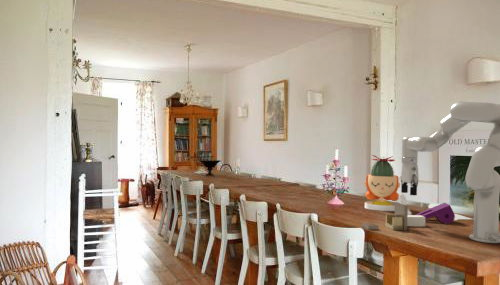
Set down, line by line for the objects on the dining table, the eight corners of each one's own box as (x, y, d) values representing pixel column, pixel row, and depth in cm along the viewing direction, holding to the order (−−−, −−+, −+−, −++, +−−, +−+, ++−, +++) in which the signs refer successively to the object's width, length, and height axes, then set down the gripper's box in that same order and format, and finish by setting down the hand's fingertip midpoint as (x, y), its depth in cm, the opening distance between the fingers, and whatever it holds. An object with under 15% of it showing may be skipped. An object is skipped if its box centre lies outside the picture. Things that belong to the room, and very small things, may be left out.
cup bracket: (407, 230, 189) (407, 205, 189) (393, 230, 189) (394, 205, 189) (397, 225, 200) (397, 202, 200) (384, 225, 200) (384, 202, 200)
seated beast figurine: (412, 215, 230) (412, 195, 230) (396, 214, 232) (396, 194, 233) (409, 213, 239) (410, 193, 239) (395, 212, 242) (395, 192, 242)
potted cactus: (400, 211, 243) (401, 155, 243) (363, 209, 250) (364, 154, 250) (398, 206, 263) (399, 155, 264) (364, 204, 270) (364, 154, 270)
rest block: (378, 229, 190) (378, 225, 190) (368, 229, 189) (368, 225, 189) (372, 226, 198) (372, 222, 198) (362, 226, 197) (362, 222, 197)
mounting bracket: (423, 233, 212) (457, 220, 208) (416, 218, 212) (450, 205, 209) (419, 229, 221) (451, 216, 218) (412, 215, 222) (444, 202, 219)
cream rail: (420, 224, 205) (420, 215, 205) (425, 226, 200) (425, 217, 200) (394, 224, 204) (394, 215, 204) (398, 226, 199) (398, 216, 199)
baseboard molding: (453, 221, 218) (473, 221, 219) (453, 216, 218) (473, 216, 219) (423, 211, 249) (441, 212, 250) (424, 207, 249) (442, 207, 250)
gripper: (425, 161, 194) (424, 196, 194) (408, 160, 211) (408, 191, 211) (410, 161, 193) (409, 196, 193) (395, 160, 211) (394, 191, 211)
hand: (408, 193), depth 202 cm, fingers open, 9 cm apart
